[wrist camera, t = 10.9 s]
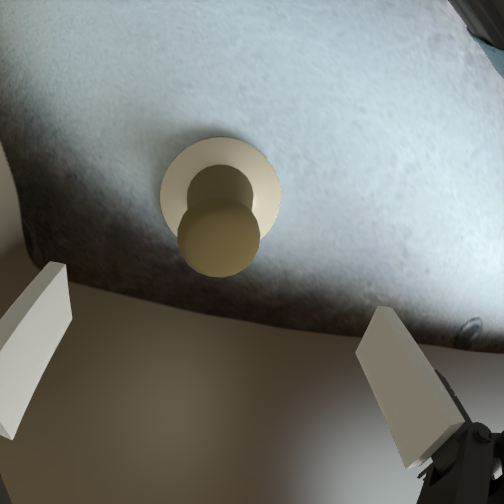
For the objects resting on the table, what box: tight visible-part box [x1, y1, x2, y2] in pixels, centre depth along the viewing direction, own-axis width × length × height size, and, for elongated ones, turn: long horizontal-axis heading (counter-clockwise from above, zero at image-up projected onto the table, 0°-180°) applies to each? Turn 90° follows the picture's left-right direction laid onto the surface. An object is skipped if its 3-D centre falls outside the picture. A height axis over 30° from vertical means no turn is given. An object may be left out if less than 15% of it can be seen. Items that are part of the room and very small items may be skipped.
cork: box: [177, 164, 260, 277], centre depth 23 cm, size 6×6×11 cm
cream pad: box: [160, 137, 281, 240], centre depth 29 cm, size 11×11×2 cm
